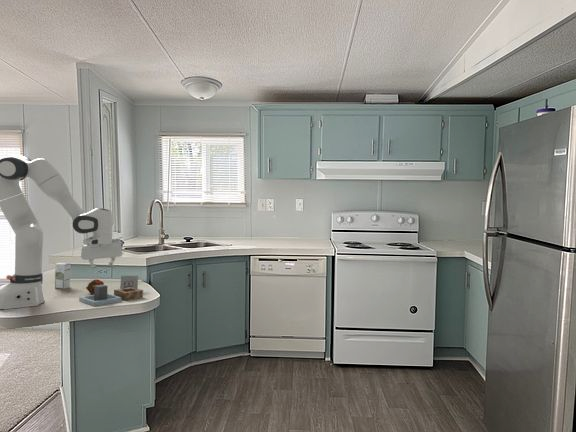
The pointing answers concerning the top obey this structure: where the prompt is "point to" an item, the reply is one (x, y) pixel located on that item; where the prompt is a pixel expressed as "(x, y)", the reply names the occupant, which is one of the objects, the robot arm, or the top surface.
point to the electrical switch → (129, 282)
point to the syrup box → (62, 275)
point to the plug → (100, 292)
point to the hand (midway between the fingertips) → (102, 266)
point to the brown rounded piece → (92, 284)
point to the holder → (128, 293)
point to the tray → (95, 303)
